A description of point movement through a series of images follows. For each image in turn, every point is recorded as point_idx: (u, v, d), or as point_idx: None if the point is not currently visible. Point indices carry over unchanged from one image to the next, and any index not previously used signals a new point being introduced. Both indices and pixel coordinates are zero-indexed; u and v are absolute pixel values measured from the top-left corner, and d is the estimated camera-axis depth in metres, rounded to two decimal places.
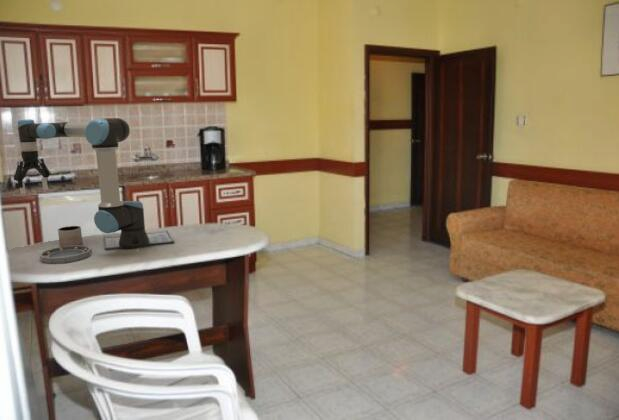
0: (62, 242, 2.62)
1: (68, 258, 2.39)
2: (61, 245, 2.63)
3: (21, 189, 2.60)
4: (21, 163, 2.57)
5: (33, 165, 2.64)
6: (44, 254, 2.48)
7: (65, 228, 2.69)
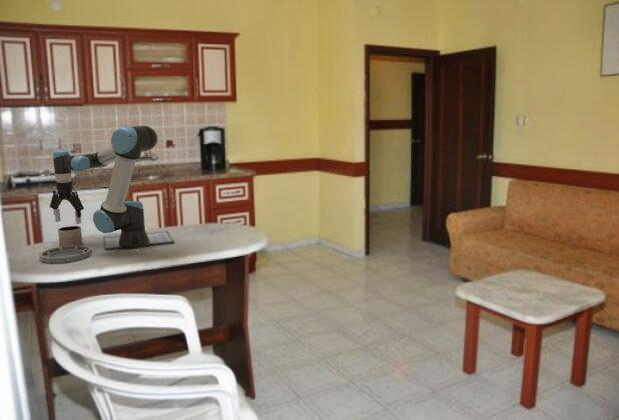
0: (62, 243, 2.62)
1: (68, 258, 2.39)
2: (61, 245, 2.63)
3: None
4: (53, 192, 2.64)
5: None
6: (44, 254, 2.48)
7: (65, 228, 2.69)
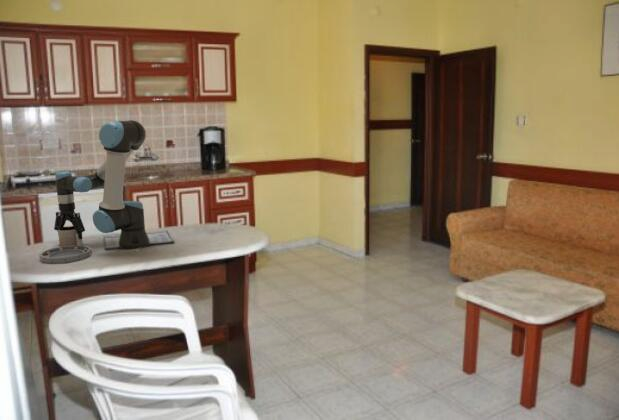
0: (62, 242, 2.62)
1: (68, 258, 2.39)
2: (61, 245, 2.63)
3: None
4: (56, 214, 2.66)
5: (66, 217, 2.64)
6: (44, 254, 2.48)
7: (65, 228, 2.69)
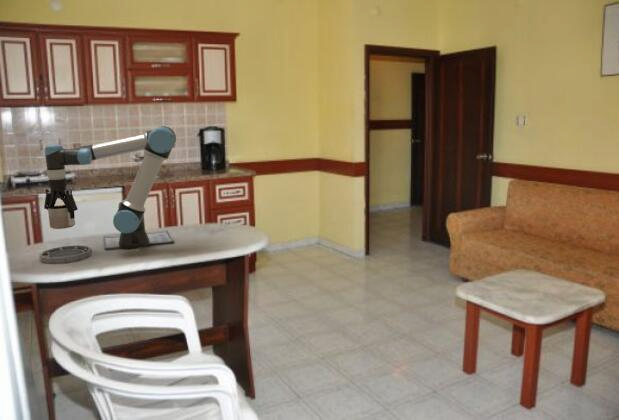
0: (52, 222, 2.40)
1: (68, 258, 2.39)
2: (51, 225, 2.41)
3: None
4: (46, 191, 2.44)
5: (57, 195, 2.42)
6: (44, 254, 2.48)
7: (56, 207, 2.47)
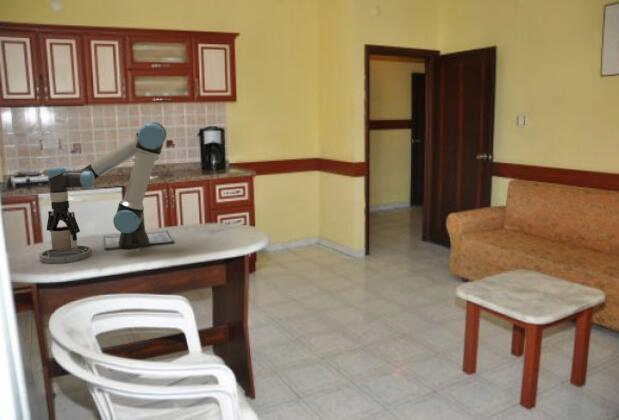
0: (55, 244, 2.42)
1: (68, 258, 2.39)
2: (54, 247, 2.43)
3: None
4: (49, 213, 2.46)
5: (60, 217, 2.44)
6: (44, 254, 2.48)
7: (58, 228, 2.49)
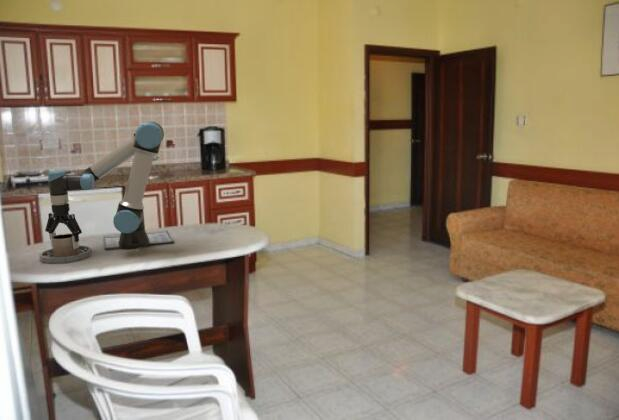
0: (56, 252, 2.43)
1: (68, 258, 2.39)
2: (55, 254, 2.44)
3: None
4: (49, 215, 2.46)
5: (60, 220, 2.44)
6: (44, 254, 2.48)
7: (59, 236, 2.50)
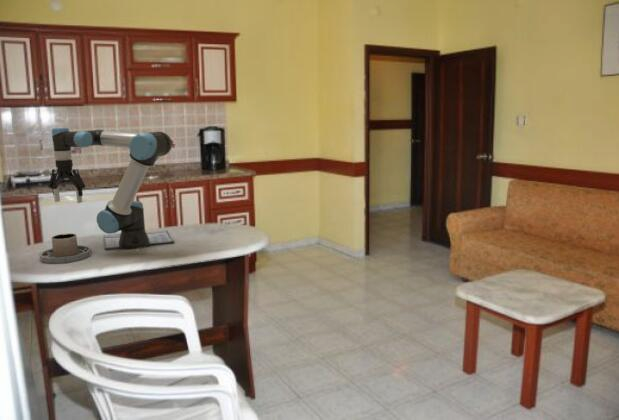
0: (56, 252, 2.43)
1: (68, 258, 2.39)
2: (55, 254, 2.44)
3: None
4: (52, 171, 2.55)
5: (64, 175, 2.54)
6: (44, 254, 2.48)
7: (59, 236, 2.50)
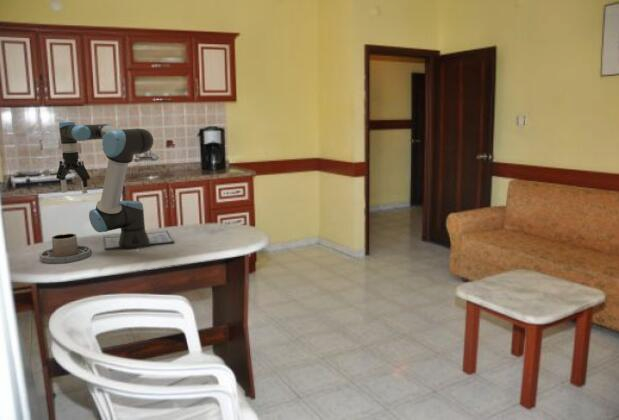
0: (56, 252, 2.43)
1: (68, 258, 2.39)
2: (55, 254, 2.44)
3: None
4: (60, 163, 2.68)
5: (70, 166, 2.66)
6: (44, 254, 2.48)
7: (59, 236, 2.50)
